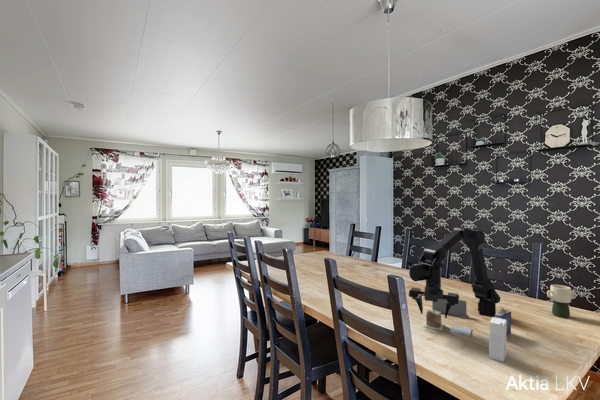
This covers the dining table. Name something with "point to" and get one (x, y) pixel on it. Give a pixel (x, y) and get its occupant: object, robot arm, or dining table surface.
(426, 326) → the green pad
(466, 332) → the slate pad
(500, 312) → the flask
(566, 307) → the character mug
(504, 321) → the skincare box
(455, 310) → the screen
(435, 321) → the letter cube
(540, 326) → the dining table surface
